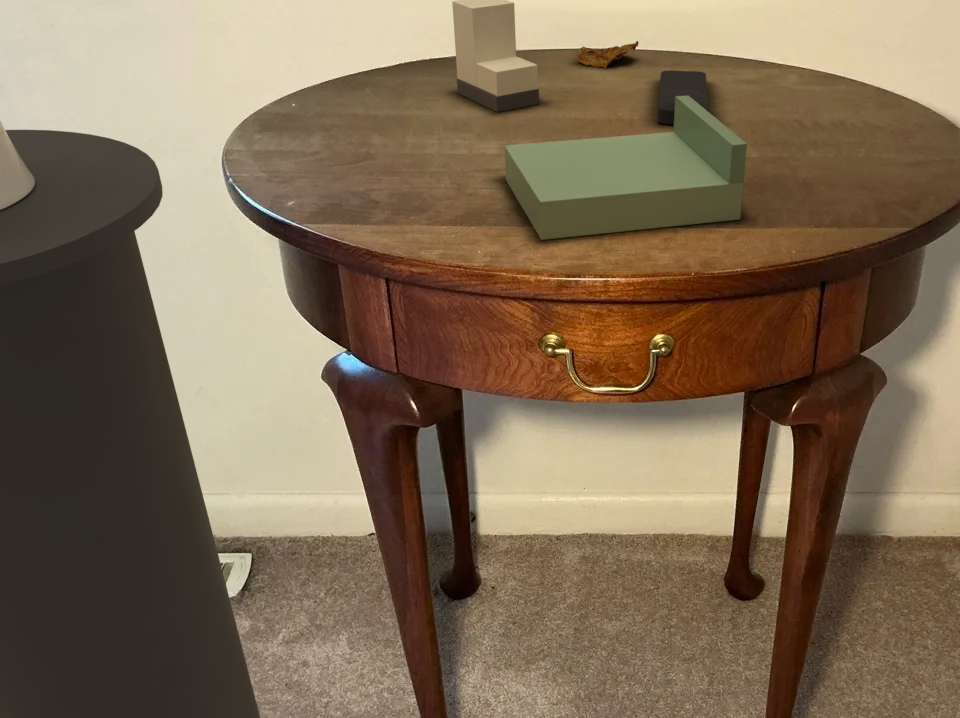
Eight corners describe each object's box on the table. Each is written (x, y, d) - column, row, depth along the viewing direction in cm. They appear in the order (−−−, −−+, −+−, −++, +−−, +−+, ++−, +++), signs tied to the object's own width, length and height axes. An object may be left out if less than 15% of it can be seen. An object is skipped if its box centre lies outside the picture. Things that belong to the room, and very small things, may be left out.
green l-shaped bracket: (540, 240, 78) (539, 161, 75) (505, 180, 89) (502, 108, 85) (740, 219, 82) (747, 143, 79) (684, 164, 92) (688, 95, 89)
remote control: (659, 86, 114) (657, 123, 101) (660, 69, 113) (657, 105, 101) (705, 88, 114) (708, 125, 101) (706, 71, 113) (709, 106, 100)
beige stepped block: (457, 93, 110) (451, 1, 104) (498, 85, 112) (494, -5, 107) (497, 112, 104) (492, 16, 99) (539, 104, 107) (537, 9, 102)
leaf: (592, 51, 125) (590, 37, 124) (645, 51, 122) (644, 36, 121) (569, 70, 120) (567, 55, 119) (623, 70, 118) (622, 55, 117)
